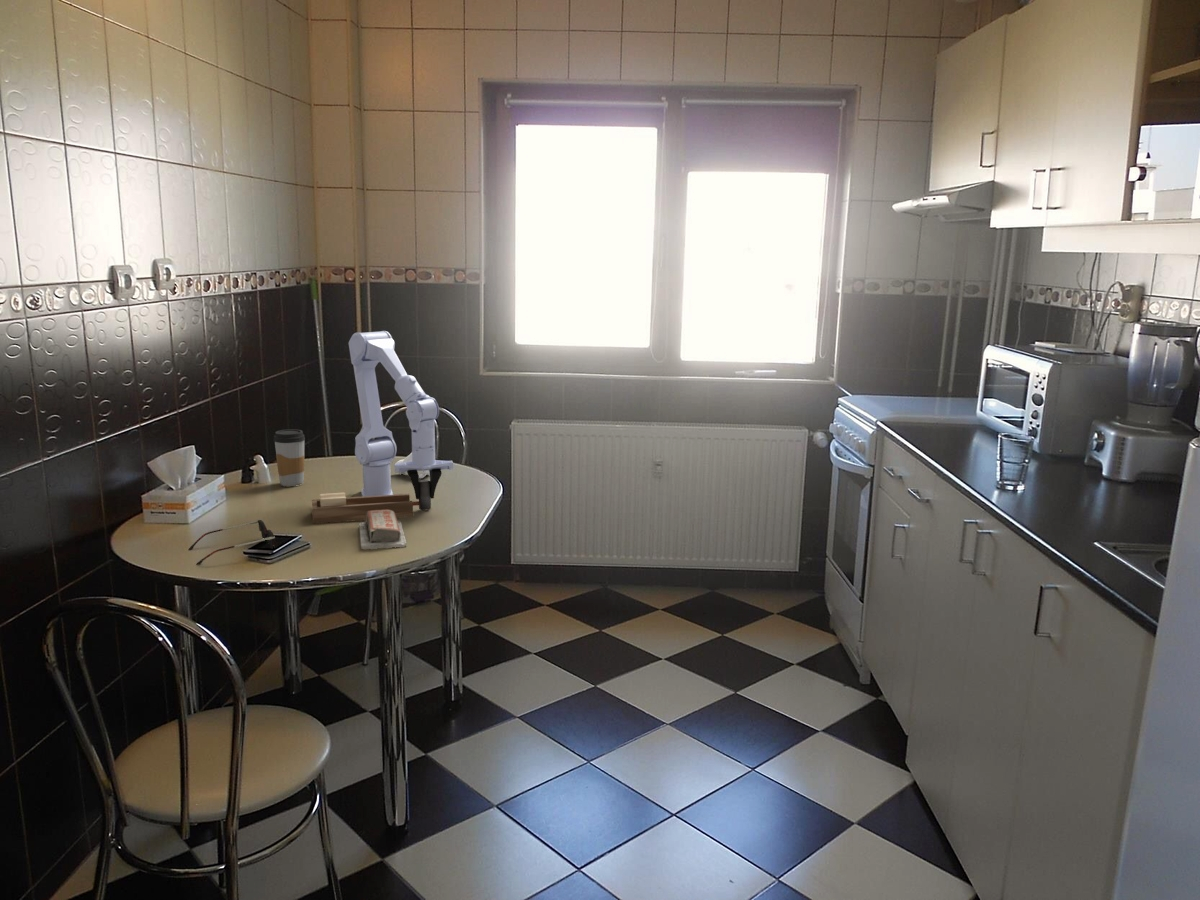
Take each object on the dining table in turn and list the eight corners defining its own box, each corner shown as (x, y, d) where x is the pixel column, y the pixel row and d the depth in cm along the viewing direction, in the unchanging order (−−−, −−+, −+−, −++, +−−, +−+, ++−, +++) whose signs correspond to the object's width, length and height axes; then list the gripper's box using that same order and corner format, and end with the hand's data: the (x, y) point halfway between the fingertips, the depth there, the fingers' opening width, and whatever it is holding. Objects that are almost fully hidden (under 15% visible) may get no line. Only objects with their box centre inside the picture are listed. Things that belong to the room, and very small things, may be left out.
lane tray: (312, 512, 227) (311, 498, 226) (408, 505, 234) (408, 492, 234) (313, 523, 218) (312, 509, 217) (413, 516, 225) (413, 503, 224)
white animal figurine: (425, 451, 258) (388, 451, 262) (428, 479, 260) (391, 479, 263) (435, 446, 264) (399, 447, 268) (438, 475, 266) (402, 475, 269)
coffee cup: (313, 483, 254) (311, 431, 251) (289, 489, 247) (286, 436, 244) (294, 478, 259) (291, 427, 255) (269, 484, 252) (266, 432, 249)
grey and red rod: (320, 512, 225) (319, 485, 224) (429, 505, 233) (428, 478, 232) (321, 518, 220) (319, 490, 219) (432, 510, 229) (431, 483, 227)
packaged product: (357, 509, 215) (400, 506, 218) (358, 528, 216) (401, 525, 219) (360, 531, 198) (406, 528, 201) (361, 552, 199) (407, 549, 202)
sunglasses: (277, 555, 196) (274, 534, 195) (198, 572, 188) (194, 550, 186) (262, 538, 207) (260, 517, 206) (187, 553, 199) (184, 532, 198)
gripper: (395, 450, 221) (397, 504, 224) (454, 447, 226) (455, 500, 229) (393, 444, 228) (394, 496, 231) (450, 442, 232) (451, 493, 235)
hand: (424, 497), depth 230 cm, fingers closed on grey and red rod, 3 cm apart
